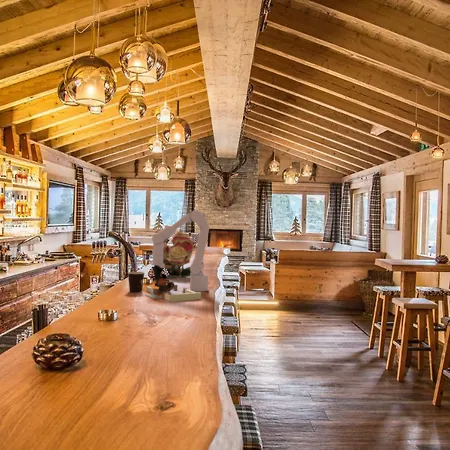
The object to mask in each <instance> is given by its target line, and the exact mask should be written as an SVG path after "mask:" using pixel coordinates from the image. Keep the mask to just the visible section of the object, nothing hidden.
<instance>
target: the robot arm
mask: <svg viewBox="0 0 450 450" xmlns="http://www.w3.org/2000/svg"><path fill="white" fill-rule="evenodd" d="M189 222H194V223H195V224H197V226H198V227H199V232H198V238H197V242H196V248H195V249H196V250H195V252H194V253H195V254H194V258H193V261H192V263H191V264H190V266H189V267H190V271H191V273H190V277H189V278H190V279H189V281H190V282H189V288H187V289H188V290H190V291H193V292H196V293H197V292H207V291H209V278H208V277H209V276H208V275H207V274H206V273H204V272H203V271H204V269H205V265H204V261H205V260H204V257H205V252H206V246H207V240H208V237H209V236H208V235H209V231H210V224H209V220H208V218H207V215H206V214H205V213H204V212H203V211H202V210H200V209H194V210H192V211H191V212H189V213H186V214H185V215H184V216H182V217H181V218H180V219H179V220H177V221H175V223H173V224H166V225H165V226H164V228H163V229H160V230H158V231H157V233H154V234H153V235H152V237H151V239H152V240H151V241H152V261H150V265H151V269H152V272H153V276H154V279H155V281H156V280H158V279H161V272H162V270H163V269H164V268H165V264H164V263H163V243H165V241H166V240H167V239H169V238H170V237H173V235H175V233H176V232H177V231H176V230H178V229H179V228H181V227H182V226H184V225H185V224H187V223H189Z"/></svg>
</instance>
